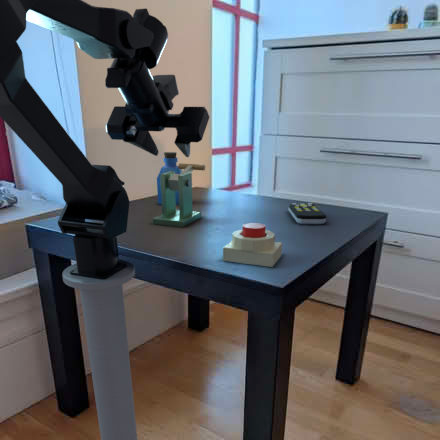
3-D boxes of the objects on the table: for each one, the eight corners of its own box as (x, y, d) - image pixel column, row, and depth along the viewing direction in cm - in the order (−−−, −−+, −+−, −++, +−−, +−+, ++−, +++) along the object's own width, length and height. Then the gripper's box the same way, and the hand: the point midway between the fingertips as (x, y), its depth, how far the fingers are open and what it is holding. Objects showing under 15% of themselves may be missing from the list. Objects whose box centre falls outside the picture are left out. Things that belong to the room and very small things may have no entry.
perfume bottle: (158, 204, 104) (155, 153, 99) (162, 199, 110) (159, 151, 105) (182, 204, 104) (181, 154, 99) (185, 199, 110) (184, 151, 105)
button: (261, 240, 63) (262, 229, 63) (239, 238, 65) (239, 227, 64) (267, 234, 66) (268, 224, 66) (246, 232, 68) (246, 221, 67)
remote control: (297, 225, 86) (298, 215, 85) (287, 211, 98) (287, 202, 97) (327, 225, 86) (328, 215, 85) (313, 211, 98) (314, 202, 97)
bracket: (172, 214, 94) (170, 169, 90) (201, 217, 92) (200, 171, 88) (153, 224, 86) (150, 175, 82) (183, 227, 84) (182, 177, 80)
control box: (271, 268, 63) (273, 242, 61) (222, 261, 65) (222, 236, 64) (281, 255, 68) (283, 231, 67) (235, 249, 71) (236, 226, 69)
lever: (181, 170, 94) (179, 159, 92) (206, 171, 92) (204, 161, 90) (161, 189, 87) (159, 178, 85) (187, 191, 85) (186, 180, 83)
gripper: (204, 52, 68) (227, 123, 82) (108, 56, 74) (144, 122, 88) (185, 105, 65) (212, 169, 78) (85, 104, 71) (127, 165, 85)
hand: (172, 154), depth 82 cm, fingers open, 7 cm apart
